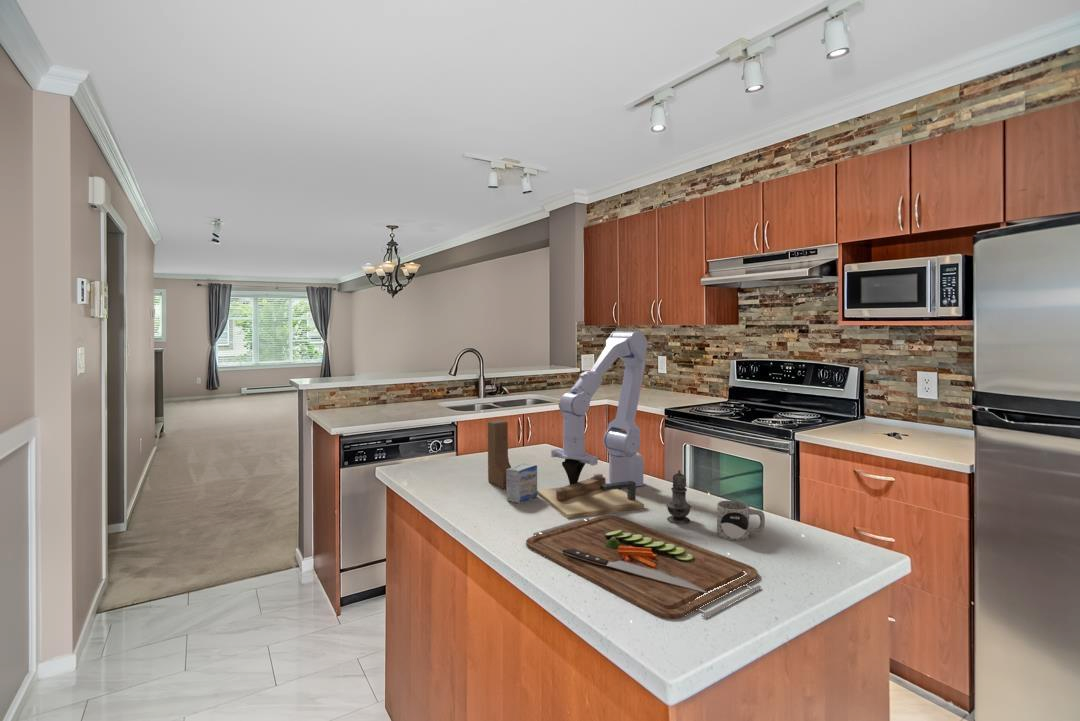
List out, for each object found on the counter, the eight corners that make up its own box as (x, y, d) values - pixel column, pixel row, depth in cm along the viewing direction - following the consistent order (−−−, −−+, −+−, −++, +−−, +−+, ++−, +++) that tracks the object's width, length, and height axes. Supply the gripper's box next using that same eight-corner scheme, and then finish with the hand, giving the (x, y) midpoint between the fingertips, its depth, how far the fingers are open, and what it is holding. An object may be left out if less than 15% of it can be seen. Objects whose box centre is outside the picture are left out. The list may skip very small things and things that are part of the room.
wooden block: (516, 486, 160) (516, 424, 159) (503, 489, 158) (502, 425, 156) (500, 479, 167) (500, 419, 166) (487, 481, 165) (486, 421, 164)
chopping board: (778, 583, 101) (778, 566, 101) (684, 633, 85) (684, 614, 85) (603, 516, 137) (603, 503, 136) (513, 542, 120) (513, 528, 120)
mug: (719, 540, 120) (720, 509, 119) (714, 528, 126) (714, 500, 126) (768, 542, 118) (769, 511, 118) (760, 531, 125) (761, 501, 125)
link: (597, 483, 158) (597, 471, 158) (608, 486, 156) (608, 474, 155) (552, 498, 145) (552, 485, 145) (564, 501, 142) (563, 488, 142)
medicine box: (519, 504, 144) (519, 471, 144) (506, 501, 147) (505, 468, 147) (537, 496, 151) (537, 464, 150) (524, 493, 153) (524, 462, 153)
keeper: (632, 501, 146) (632, 480, 146) (636, 503, 144) (636, 482, 144) (600, 505, 143) (600, 484, 142) (603, 508, 141) (603, 486, 140)
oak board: (605, 485, 160) (605, 482, 160) (644, 507, 141) (644, 504, 141) (536, 493, 153) (536, 490, 153) (567, 518, 133) (567, 514, 133)
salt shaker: (692, 525, 129) (693, 473, 128) (666, 523, 130) (666, 472, 129) (690, 516, 134) (691, 467, 134) (665, 515, 136) (666, 466, 135)
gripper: (543, 435, 152) (543, 485, 153) (585, 443, 143) (585, 495, 144) (560, 432, 158) (560, 479, 159) (602, 439, 148) (602, 489, 149)
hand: (573, 487), depth 151 cm, fingers closed
